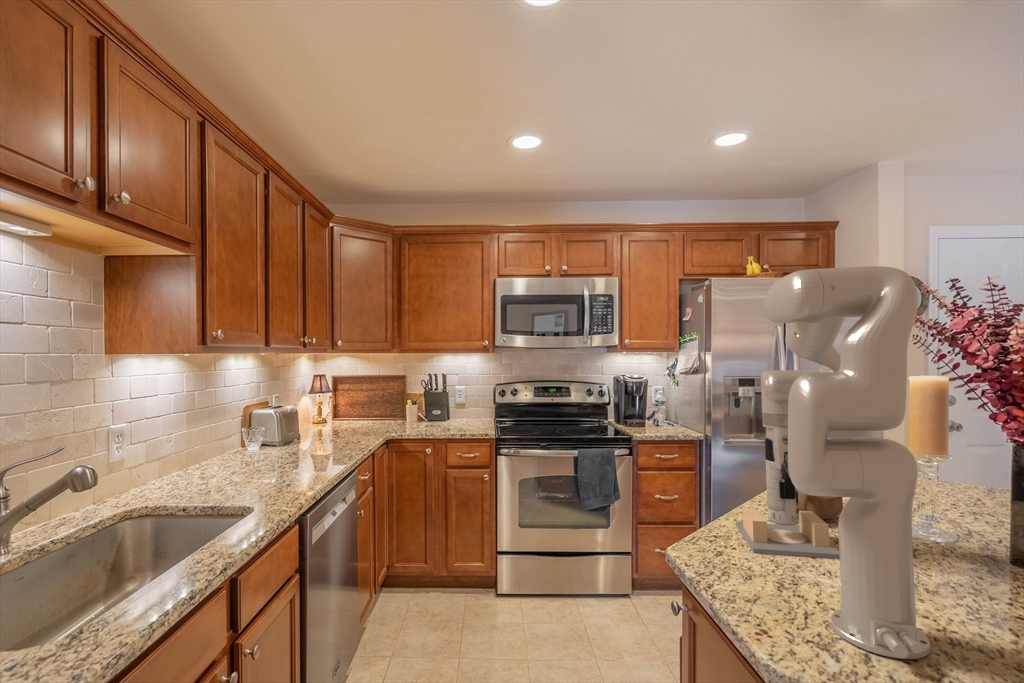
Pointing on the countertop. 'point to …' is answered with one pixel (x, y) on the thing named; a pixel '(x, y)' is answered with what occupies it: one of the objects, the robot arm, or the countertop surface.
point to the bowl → (820, 505)
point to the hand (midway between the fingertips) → (782, 493)
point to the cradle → (787, 536)
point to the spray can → (778, 493)
